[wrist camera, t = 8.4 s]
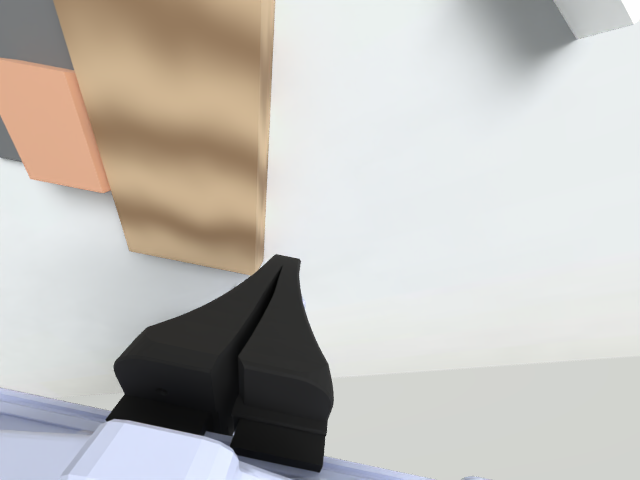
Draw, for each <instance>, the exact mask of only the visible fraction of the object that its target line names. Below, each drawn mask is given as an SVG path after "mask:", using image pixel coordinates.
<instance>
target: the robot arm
mask: <svg viewBox="0 0 640 480" xmlns="http://www.w3.org/2000/svg"><path fill="white" fill-rule="evenodd" d="M300 263H301V261H300V259H297V258H292V257H287V256H282V255H277V254H276V255H274V256H273V257H272V258H271V259H270V260H269V261H268V262H267V263H266V264H265V265H263V266H262V267H261V268H260V269H259V270H258V271H256V272H255V273H254V274H253V275H252V276H250V277H249V278H248V279H246V280H245V281H244V282H242V283H241V284H239V285H238V286H237V287H235V288H234V289H232V290H231V291H229V292H227V293H226V294H224V295H222V296H221V297H219V298H217V299H215V300H213V301H212V302H210V303H208V304H206V305H204V306H202V307H200V308H197V309H195V310H193V311H190V312H188V313H186V314H183V315H181V316H178V317H176V318H173V319H170V320H167V321H164V322H161V323H158V324H155V325H153V326H149V327H147V328H146V329H145V330H144V331H143V332H142V333H141V334H140V335H139V336H138V337H137V338H136V339H135V340H134V341H133V342H132V343H131V344H130V345H129V347H128V348H127V349H126V350H125V351H124V352H123V353H122V354H121V356H120V357H119V358H118V359H117V360H116V361H115V363H114V372H115V375H116V377H117V379H118V381H119V383H120V385H121V387H122V389H123V391H124V393H125V395H124V396H123V397H122V399H121V400H120V401H119V402H118V404H117V405H116V406H115V408H114V409H113V410H112V411H109V410H104V409H99V408H95V407H90V406H85V405H80V404H76V403H71V402H66V401H61V400H57V399H52V398H47V397H43V396H38V395H33V394H28V393H24V392H19V391H14V390H9V389H5V388H0V480H435V479H431V478H426V477H421V476H416V475H412V474H407V473H402V472H397V471H392V470H388V469H383V468H379V467H374V466H369V465H364V464H360V463H355V462H350V461H345V460H341V459H336V458H331V457H326V456H324V446H325V436H326V433H327V421H328V418H329V415H330V413H331V410H332V407H333V401H334V397H333V385H332V379H331V374H330V370H329V365H328V363H327V361H326V359H325V357H324V355H323V354H322V352H321V350H320V348H319V346H318V343H317V341H316V339H315V337H314V334H313V332H312V329H311V327H310V324H309V322H308V319H307V316H306V312H305V304H306V303H305V301H304V300H302V296H301V290H300V281H299V270H300ZM461 480H490V479H485V478H481V477H474V476H469V477H465V478H463V479H461Z"/></svg>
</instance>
